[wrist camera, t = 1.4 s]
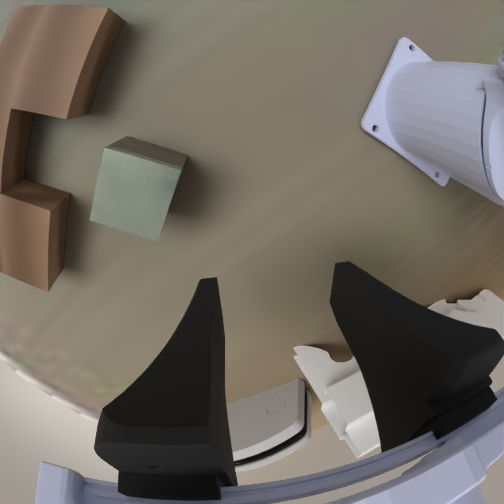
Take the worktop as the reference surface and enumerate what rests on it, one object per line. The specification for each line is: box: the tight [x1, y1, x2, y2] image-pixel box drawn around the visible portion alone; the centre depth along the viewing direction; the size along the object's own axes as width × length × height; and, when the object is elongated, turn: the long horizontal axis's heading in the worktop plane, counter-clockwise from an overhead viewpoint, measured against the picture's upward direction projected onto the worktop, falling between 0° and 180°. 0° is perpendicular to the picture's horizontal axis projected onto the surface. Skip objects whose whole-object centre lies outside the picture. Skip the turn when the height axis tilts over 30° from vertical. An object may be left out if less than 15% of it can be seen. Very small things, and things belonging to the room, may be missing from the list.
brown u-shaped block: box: [0, 5, 124, 292], centre depth 13 cm, size 7×18×3 cm, turn 157°
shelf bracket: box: [293, 289, 504, 458], centre depth 24 cm, size 6×25×13 cm, turn 97°
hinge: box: [226, 378, 313, 472], centre depth 27 cm, size 17×5×10 cm, turn 117°
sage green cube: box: [90, 136, 188, 242], centre depth 15 cm, size 4×4×4 cm
